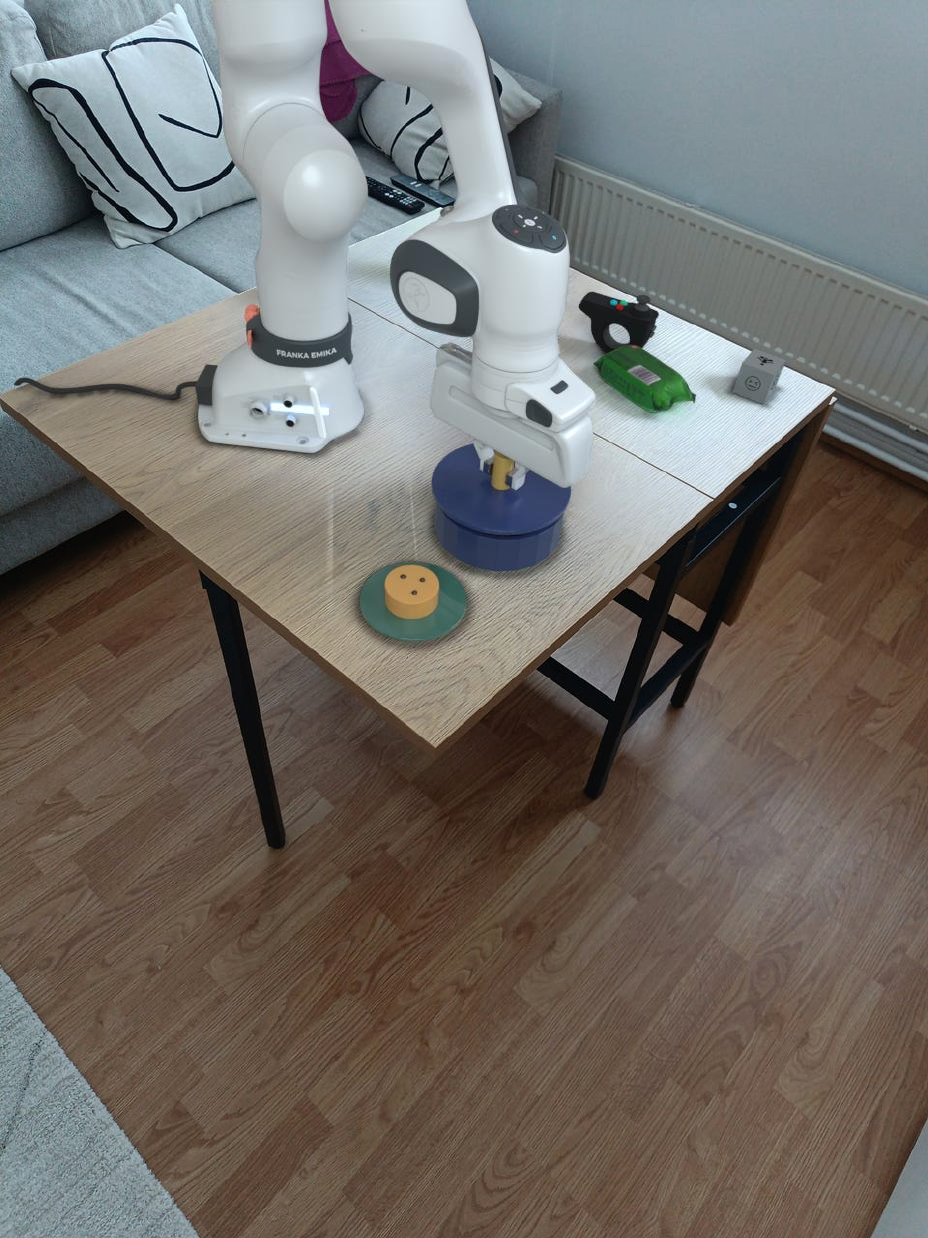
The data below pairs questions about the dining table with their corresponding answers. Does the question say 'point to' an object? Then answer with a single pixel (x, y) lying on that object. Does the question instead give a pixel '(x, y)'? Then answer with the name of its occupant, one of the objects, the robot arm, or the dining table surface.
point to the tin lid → (495, 495)
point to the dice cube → (758, 376)
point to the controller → (619, 319)
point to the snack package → (643, 378)
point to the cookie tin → (495, 544)
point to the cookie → (411, 591)
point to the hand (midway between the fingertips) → (501, 477)
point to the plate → (414, 629)
